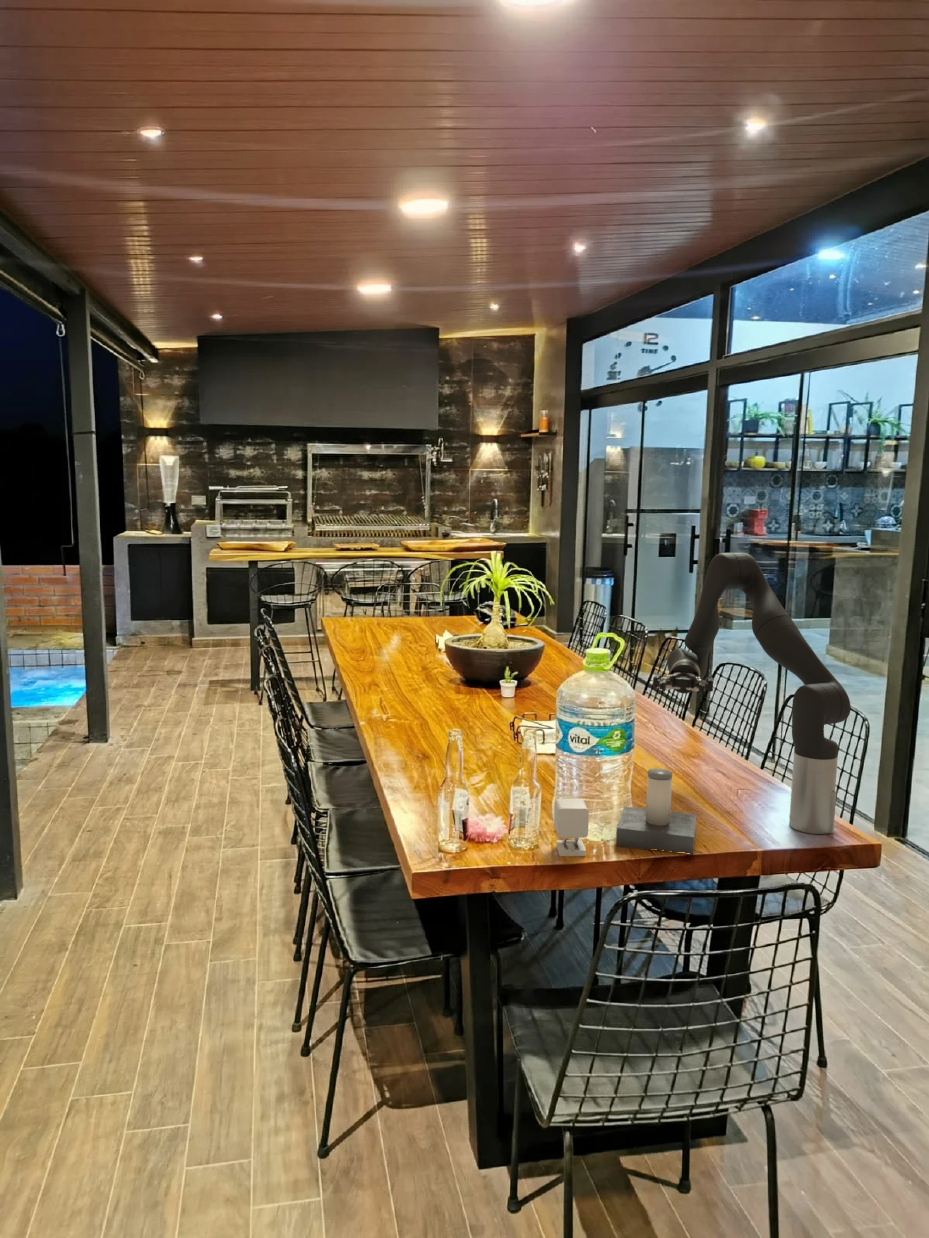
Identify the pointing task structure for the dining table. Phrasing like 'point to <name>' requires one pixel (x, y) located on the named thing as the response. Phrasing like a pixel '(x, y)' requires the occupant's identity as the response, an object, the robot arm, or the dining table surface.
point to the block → (656, 831)
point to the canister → (658, 796)
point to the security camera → (571, 826)
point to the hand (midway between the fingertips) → (681, 688)
